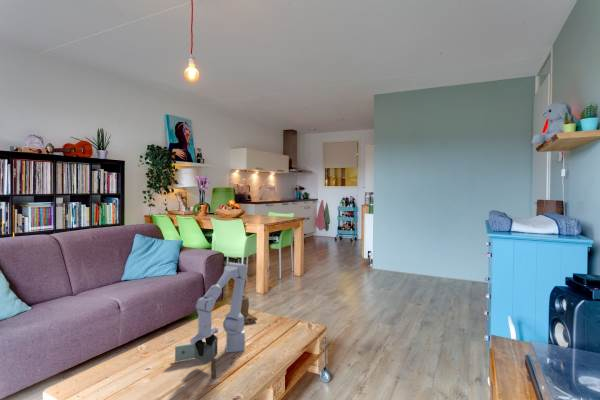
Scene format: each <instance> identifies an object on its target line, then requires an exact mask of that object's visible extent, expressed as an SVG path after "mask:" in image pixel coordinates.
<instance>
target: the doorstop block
mask: <svg viewBox="0 0 600 400" xmlns="http://www.w3.org/2000/svg"><path fill="white" fill-rule="evenodd" d="M214 356H215V355H214V352H213V346H210V345H207V344H204V349H203V356H199V355H198V351H197V348H196V346H195V358H194V359H195V360H197V361H200V362H202V363H205V364H208V363H211V359H215V358H214Z"/></svg>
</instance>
